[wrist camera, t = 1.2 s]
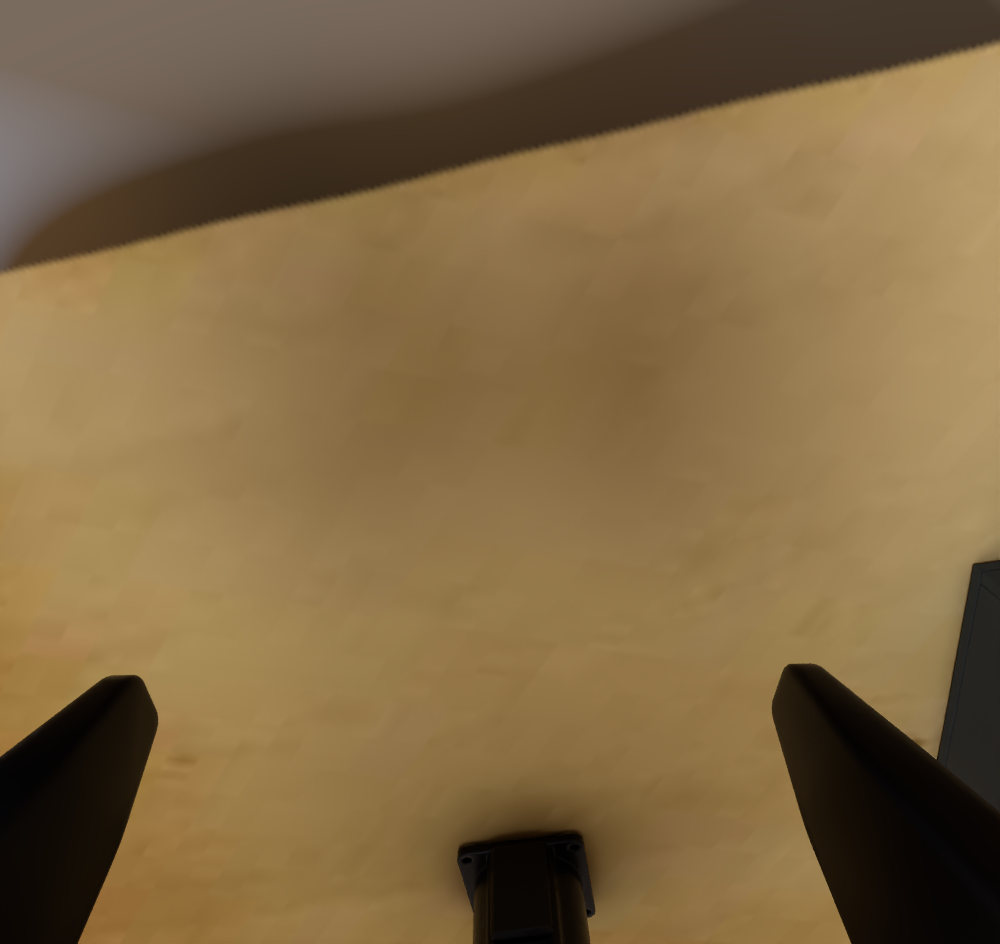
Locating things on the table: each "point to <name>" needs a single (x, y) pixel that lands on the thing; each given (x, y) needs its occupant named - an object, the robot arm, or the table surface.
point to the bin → (977, 691)
